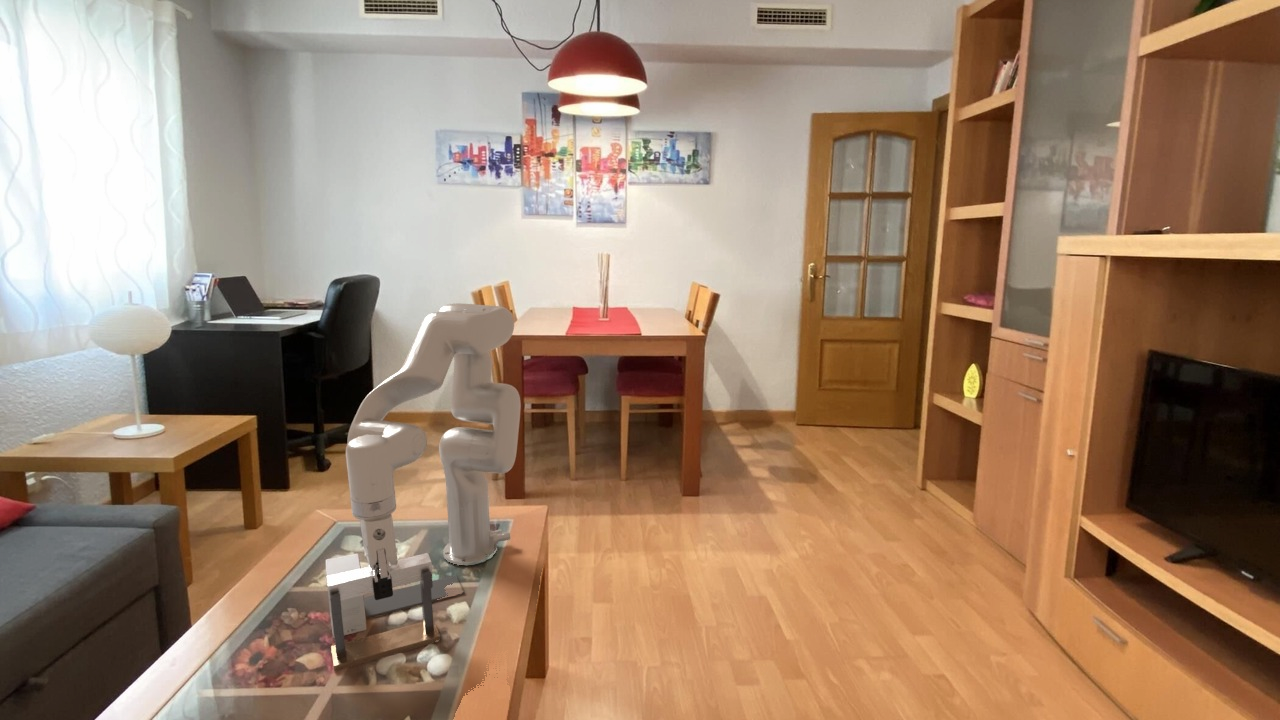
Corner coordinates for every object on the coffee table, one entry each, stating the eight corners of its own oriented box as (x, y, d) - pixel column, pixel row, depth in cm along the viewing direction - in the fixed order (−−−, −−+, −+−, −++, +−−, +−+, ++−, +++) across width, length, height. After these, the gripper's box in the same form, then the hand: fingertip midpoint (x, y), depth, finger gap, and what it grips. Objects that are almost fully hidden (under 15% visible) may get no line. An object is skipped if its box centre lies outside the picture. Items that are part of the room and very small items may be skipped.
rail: (428, 568, 135) (427, 552, 134) (432, 577, 132) (431, 561, 131) (328, 592, 127) (326, 576, 126) (330, 603, 124) (328, 586, 123)
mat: (456, 577, 156) (456, 574, 155) (464, 593, 150) (464, 591, 149) (361, 600, 147) (361, 598, 146) (365, 619, 141) (365, 616, 140)
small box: (367, 630, 137) (361, 572, 134) (332, 639, 135) (326, 580, 131) (364, 607, 144) (358, 552, 141) (330, 615, 142) (324, 559, 138)
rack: (433, 623, 140) (429, 556, 136) (440, 641, 134) (435, 572, 130) (331, 651, 131) (323, 581, 127) (334, 671, 126) (325, 599, 122)
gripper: (403, 518, 119) (410, 610, 124) (388, 480, 134) (395, 564, 139) (356, 528, 116) (366, 622, 121) (346, 488, 130) (355, 573, 135)
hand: (382, 590), depth 130 cm, fingers closed on rail, 3 cm apart
